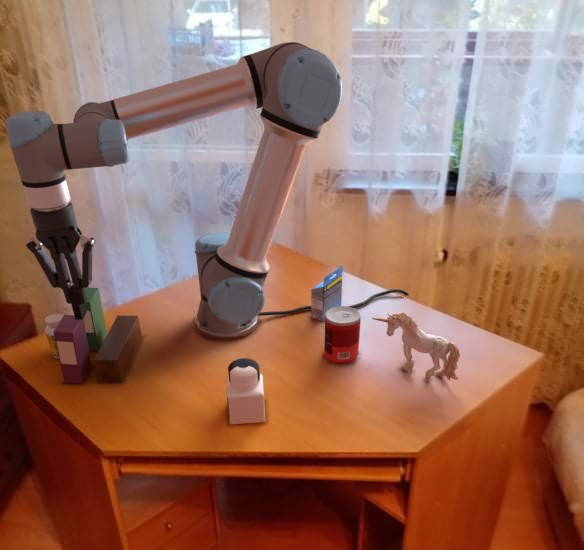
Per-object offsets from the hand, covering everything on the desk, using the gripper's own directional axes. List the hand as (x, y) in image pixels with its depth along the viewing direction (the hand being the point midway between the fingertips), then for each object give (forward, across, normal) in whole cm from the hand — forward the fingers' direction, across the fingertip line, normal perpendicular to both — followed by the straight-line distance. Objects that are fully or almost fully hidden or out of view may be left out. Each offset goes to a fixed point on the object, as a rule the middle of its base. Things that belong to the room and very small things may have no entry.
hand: (81, 316), depth 123 cm
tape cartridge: (+16, -52, -28) cm, 61 cm away
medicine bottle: (+16, -35, +13) cm, 40 cm away
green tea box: (+15, +4, -13) cm, 20 cm away
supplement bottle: (+15, +10, -8) cm, 20 cm away
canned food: (+16, -55, -8) cm, 58 cm away
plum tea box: (+15, +4, 0) cm, 15 cm away
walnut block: (+15, -4, -6) cm, 17 cm away
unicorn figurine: (+16, -70, 0) cm, 72 cm away
